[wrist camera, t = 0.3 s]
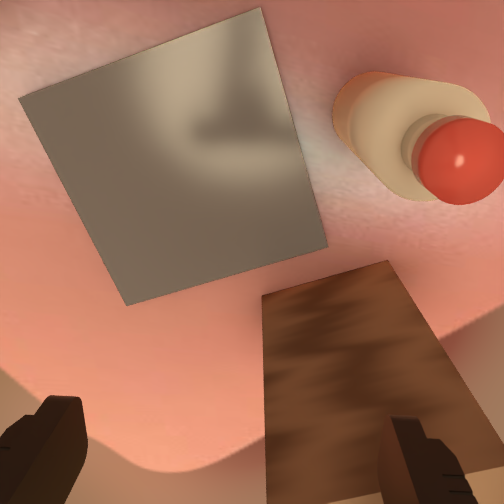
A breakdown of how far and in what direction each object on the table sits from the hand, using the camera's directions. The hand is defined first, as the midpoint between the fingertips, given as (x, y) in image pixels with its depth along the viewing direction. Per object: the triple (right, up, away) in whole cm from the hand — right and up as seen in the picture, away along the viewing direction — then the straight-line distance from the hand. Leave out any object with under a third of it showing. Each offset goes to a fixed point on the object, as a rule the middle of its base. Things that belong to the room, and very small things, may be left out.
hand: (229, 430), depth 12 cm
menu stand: (+7, +1, +23) cm, 24 cm away
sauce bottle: (+8, +14, +17) cm, 24 cm away
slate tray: (-4, +10, +19) cm, 22 cm away
